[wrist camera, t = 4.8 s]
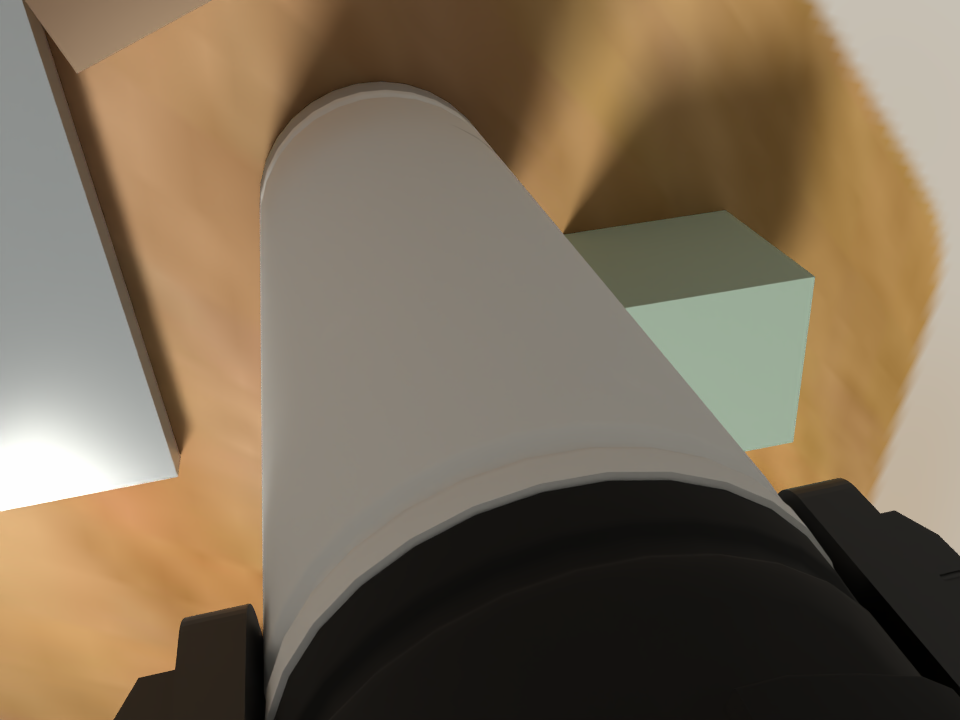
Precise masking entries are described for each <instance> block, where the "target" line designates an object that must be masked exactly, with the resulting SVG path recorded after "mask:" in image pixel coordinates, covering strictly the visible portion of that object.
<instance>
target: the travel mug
mask: <svg viewBox="0 0 960 720" xmlns="http://www.w3.org/2000/svg"><path fill="white" fill-rule="evenodd" d="M260 292H261V414H262V536H263V658H264V695H265V699H266V706H265V720H960V697H959V696H958V695H957V693H956V692H955V691H954V690H953V689H952V688H949V687H947V686H944V685H942V684H939V683H937V682H934V681H932V680H929V679H927V678H924V677H922V676H921V675H920V674H919V672H918V671H917V670H916V669H915V668H914V666H913V665H912V664H911V663H910V661H909V660H908V659H907V658H906V656H905V655H904V654H903V653H902V652H901V650H900V649H899V648H898V647H897V645H896V644H895V643H894V642H893V641H892V639H891V638H890V637H889V636H888V634H887V633H886V632H885V631H884V629H883V628H882V627H881V626H880V625H879V623H878V622H877V621H876V620H875V618H874V617H873V616H872V615H871V614H870V612H869V611H868V610H866V609H865V608H864V607H862V606H861V605H860V604H859V603H858V601H857V600H856V599H855V597H854V596H853V595H852V593H851V592H850V590H849V589H848V588H847V586H846V585H845V583H844V582H843V581H842V579H841V578H840V576H839V575H838V574H837V572H836V571H835V570H834V567H833V564H832V561H831V560H830V558H829V557H828V556H827V554H826V553H825V551H824V550H823V549H822V547H821V546H820V544H819V543H818V542H817V540H816V539H815V537H814V536H813V535H812V533H811V532H810V530H809V529H808V528H807V527H806V525H805V524H804V523H803V522H802V521H801V519H800V518H799V517H798V516H797V515H796V513H795V512H794V511H793V510H792V509H791V507H790V506H788V505H787V504H786V503H784V502H783V501H782V499H781V498H780V497H779V495H778V494H777V492H776V491H775V490H774V488H773V487H772V485H771V484H770V483H769V481H768V480H767V479H766V477H765V476H764V475H763V474H762V472H761V471H760V470H759V469H758V468H757V466H756V465H755V464H754V463H753V462H752V460H751V459H750V458H749V457H748V456H747V454H746V453H745V452H744V451H743V450H742V448H741V447H740V446H739V445H738V444H737V442H736V441H735V440H734V439H733V438H732V436H731V435H730V434H729V433H728V432H727V430H726V429H725V428H724V427H723V426H722V424H721V423H720V422H719V421H718V420H717V418H716V417H715V416H714V415H713V413H712V412H711V411H710V410H709V409H708V407H707V406H706V405H705V404H704V403H703V401H702V400H701V399H700V398H699V397H698V395H697V394H696V393H695V392H694V391H693V389H692V388H691V387H690V386H689V385H688V383H687V382H686V381H685V380H684V379H683V377H682V376H681V375H680V374H679V373H678V371H677V370H676V369H675V368H674V367H673V365H672V364H671V363H670V362H669V361H668V359H667V358H666V357H665V356H664V355H663V353H662V352H661V351H660V350H659V349H658V347H657V346H656V345H655V344H654V343H653V341H652V340H651V339H650V338H649V337H648V335H647V334H646V333H645V332H644V331H643V329H642V328H641V327H640V326H639V324H638V323H637V322H636V321H635V320H634V318H633V317H632V316H631V315H630V314H629V312H628V311H627V310H626V309H625V308H624V306H623V305H622V304H621V303H620V302H619V300H618V299H617V298H616V297H615V296H614V294H613V293H612V292H611V291H610V290H609V288H608V287H607V286H606V285H605V284H604V282H603V281H602V280H601V279H600V278H599V276H598V275H597V274H596V273H595V272H594V270H593V269H592V268H591V267H590V266H589V264H588V263H587V262H586V261H585V260H584V258H583V257H582V256H581V255H580V254H579V252H578V251H577V250H576V249H575V248H574V246H573V245H572V244H571V243H570V242H569V240H568V239H567V238H566V237H565V236H564V234H563V233H562V232H561V231H560V229H559V228H558V227H557V226H556V225H555V223H554V222H553V221H552V220H551V219H550V217H549V216H548V215H547V214H546V213H545V211H544V210H543V209H542V208H541V207H540V205H539V204H538V203H537V202H536V201H535V199H534V198H533V197H532V196H531V195H530V193H529V192H528V191H527V190H526V189H525V187H524V186H523V185H522V184H521V183H520V181H519V180H518V179H517V178H516V177H515V175H514V174H513V173H512V172H511V171H510V169H509V168H508V167H507V166H506V165H505V163H504V162H503V161H502V160H501V159H500V157H499V156H498V155H497V154H496V153H495V151H494V150H493V149H492V148H491V147H490V145H489V144H488V143H487V142H486V140H485V139H484V138H483V137H482V136H481V135H480V134H479V132H478V131H477V130H476V128H475V127H474V126H473V125H472V124H471V122H470V121H469V120H468V119H467V118H466V117H465V116H464V115H463V114H461V113H460V112H459V111H458V110H457V109H456V108H455V107H453V106H452V105H451V104H450V103H448V102H447V101H445V100H443V99H441V98H440V97H438V96H436V95H434V94H432V93H431V92H429V91H426V90H423V89H420V88H416V87H413V86H410V85H407V84H400V83H391V82H382V81H381V82H370V83H359V84H354V85H351V86H348V87H344V88H341V89H338V90H334V91H332V92H330V93H328V94H326V95H324V96H323V97H321V98H319V99H317V100H315V101H313V102H312V103H310V104H309V105H308V106H307V107H305V108H304V109H303V110H302V111H301V112H299V113H298V114H297V115H296V116H295V117H294V118H292V119H291V121H290V122H289V123H288V125H287V126H286V127H285V128H284V130H283V131H282V132H281V134H280V135H279V136H278V137H277V139H276V141H275V143H274V145H273V147H272V149H271V151H270V153H269V155H268V157H267V159H266V163H265V167H264V171H263V175H262V179H261V186H260Z"/></svg>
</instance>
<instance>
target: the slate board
mask: <svg viewBox="0 0 960 720" xmlns="http://www.w3.org/2000/svg"><path fill="white" fill-rule="evenodd" d="M180 458H181V456H180V453H179V450H178V447H177V444H176V440H175V437H174V434H173V431H172V428H171V425H170V422H169V419H168V415H167V412H166V409H165V406H164V403H163V400H162V397H161V394H160V391H159V387H158V384H157V381H156V378H155V375H154V372H153V369H152V366H151V362H150V359H149V356H148V353H147V350H146V347H145V344H144V341H143V338H142V334H141V331H140V328H139V325H138V322H137V319H136V316H135V313H134V309H133V306H132V303H131V300H130V297H129V294H128V291H127V288H126V285H125V281H124V278H123V275H122V272H121V269H120V266H119V263H118V260H117V256H116V253H115V250H114V247H113V244H112V241H111V238H110V235H109V231H108V228H107V225H106V222H105V219H104V216H103V213H102V210H101V207H100V203H99V200H98V197H97V194H96V191H95V188H94V185H93V182H92V178H91V175H90V172H89V169H88V166H87V163H86V160H85V157H84V154H83V150H82V147H81V144H80V141H79V138H78V135H77V132H76V129H75V125H74V122H73V119H72V116H71V113H70V110H69V107H68V104H67V101H66V97H65V94H64V91H63V88H62V85H61V82H60V79H59V76H58V72H57V69H56V66H55V63H54V60H53V57H52V54H51V51H50V47H49V44H48V41H47V38H46V35H45V32H44V29H43V26H42V24H41V22H40V21H39V20H38V18H37V17H36V15H35V14H34V13H33V11H32V10H31V8H30V7H29V6H28V4H27V3H26V1H25V0H0V511H4V510H9V509H14V508H19V507H24V506H29V505H35V504H40V503H45V502H50V501H55V500H60V499H65V498H71V497H76V496H81V495H86V494H91V493H96V492H102V491H107V490H112V489H117V488H122V487H127V486H133V485H138V484H143V483H148V482H153V481H158V480H163V479H169V478H174V477H178V472H179V465H180Z"/></svg>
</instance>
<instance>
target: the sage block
mask: <svg viewBox="0 0 960 720" xmlns="http://www.w3.org/2000/svg"><path fill="white" fill-rule="evenodd" d="M564 236H565V237H566V238H567V239H568V240H569V242H570V243H571V244H572V245H573V246H574V248H575V249H576V250H577V251H578V252H579V254H580V255H581V256H582V257H583V258H584V260H585V261H586V262H587V263H588V264H589V266H590V267H591V268H592V269H593V270H594V272H595V273H596V274H597V275H598V276H599V278H600V279H601V280H602V281H603V282H604V284H605V285H606V286H607V287H608V288H609V290H610V291H611V292H612V293H613V294H614V296H615V297H616V298H617V299H618V300H619V302H620V303H621V304H622V305H623V306H624V308H625V309H626V310H627V311H628V312H629V314H630V315H631V316H632V317H633V318H634V320H635V321H636V322H637V323H638V324H639V326H640V327H641V328H642V329H643V331H644V332H645V333H646V334H647V335H648V337H649V338H650V339H651V340H652V341H653V343H654V344H655V345H656V346H657V347H658V349H659V350H660V351H661V352H662V353H663V355H664V356H665V357H666V358H667V359H668V361H669V362H670V363H671V364H672V365H673V367H674V368H675V369H676V370H677V371H678V373H679V374H680V375H681V376H682V377H683V379H684V380H685V381H686V382H687V383H688V385H689V386H690V387H691V388H692V389H693V391H694V392H695V393H696V394H697V395H698V397H699V398H700V399H701V400H702V401H703V403H704V404H705V405H706V406H707V407H708V409H709V410H710V411H711V412H712V413H713V415H714V416H715V417H716V418H717V420H718V421H719V422H720V423H721V424H722V426H723V427H724V428H725V429H726V430H727V432H728V433H729V434H730V435H731V436H732V438H733V439H734V440H735V441H736V442H737V444H738V445H739V446H740V447H741V448H742V450H743V451H744V452H745V451H750V450H755V449H760V448H765V447H770V446H775V445H781V444H786V443H791V442H793V439H794V431H795V424H796V416H797V409H798V401H799V394H800V386H801V378H802V371H803V363H804V356H805V348H806V341H807V333H808V326H809V318H810V311H811V303H812V296H813V288H814V281H815V276H813V275H812V274H811V273H809V272H808V271H807V270H805V269H804V268H803V267H801V266H800V265H799V264H797V263H796V262H795V261H793V260H792V259H791V258H789V257H788V256H786V255H785V254H784V253H782V252H781V251H780V250H778V249H777V248H776V247H774V246H773V245H772V244H770V243H769V242H768V241H766V240H765V239H764V238H762V237H761V236H760V235H758V234H757V233H756V232H754V231H753V230H752V229H750V228H749V227H748V226H746V225H745V224H744V223H742V222H741V221H740V220H738V219H737V218H736V217H734V216H733V215H732V214H730V213H729V212H727V211H726V210H723V211H716V212H709V213H703V214H696V215H690V216H683V217H676V218H670V219H663V220H656V221H650V222H643V223H637V224H630V225H623V226H617V227H610V228H604V229H597V230H590V231H584V232H577V233H571V234H564Z"/></svg>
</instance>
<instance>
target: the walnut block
mask: <svg viewBox="0 0 960 720" xmlns="http://www.w3.org/2000/svg"><path fill="white" fill-rule="evenodd" d="M25 1H26V3H27V4H28V6H29V7H30V8H31V10H32V11H33V13H34V14H35V15H36V17H37V18H38V20H39V21H40V22H41V24H42V25H43V27H44V28H45V29H46V31H47V32H48V34H49V35H50V37H51V38H52V39H53V41H54V42H55V44H56V45H57V46H58V48H59V49H60V51H61V52H62V53H63V55H64V56H65V58H66V59H67V60H68V62H69V63H70V65H71V66H72V67H73V69H74V70H75V72H76V73H77V74H78V73H79V72H81V71H83V70H85V69H87V68H89V67H90V66H92V65H94V64H96V63H98V62H100V61H101V60H103V59H105V58H107V57H109V56H111V55H112V54H114V53H116V52H118V51H120V50H122V49H123V48H125V47H127V46H129V45H131V44H133V43H134V42H136V41H138V40H140V39H142V38H144V37H145V36H147V35H149V34H151V33H153V32H155V31H156V30H158V29H160V28H162V27H164V26H166V25H167V24H169V23H171V22H173V21H175V20H176V19H178V18H180V17H182V16H184V15H186V14H187V13H189V12H191V11H193V10H195V9H197V8H198V7H200V6H202V5H204V4H206V3H208V2H209V1H211V0H25Z"/></svg>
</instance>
